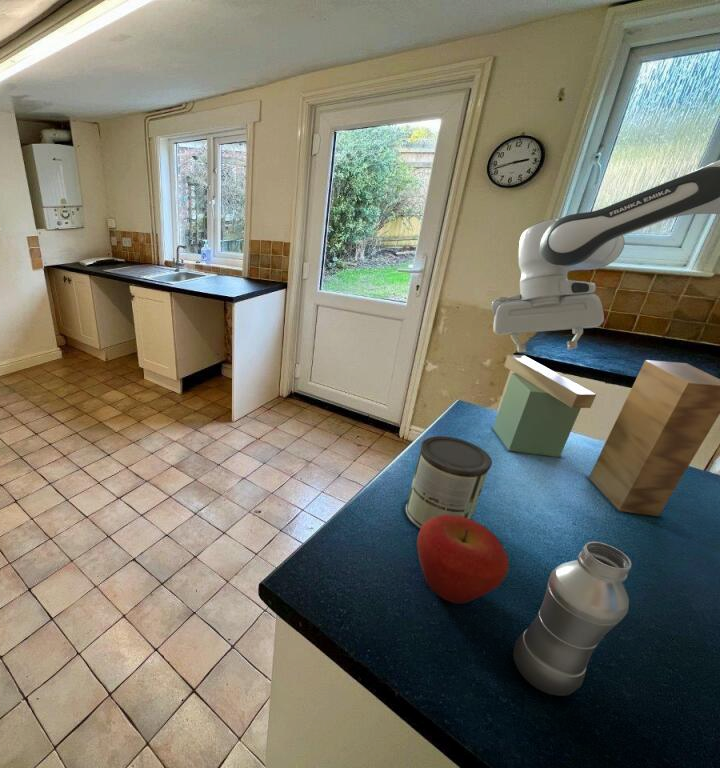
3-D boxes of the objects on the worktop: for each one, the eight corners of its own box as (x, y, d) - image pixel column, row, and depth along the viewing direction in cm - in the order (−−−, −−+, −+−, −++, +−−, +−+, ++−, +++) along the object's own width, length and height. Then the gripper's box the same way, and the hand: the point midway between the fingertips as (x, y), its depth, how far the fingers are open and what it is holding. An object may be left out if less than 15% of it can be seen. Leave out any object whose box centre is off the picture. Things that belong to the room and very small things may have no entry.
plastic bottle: (495, 657, 52) (550, 539, 44) (534, 641, 54) (595, 525, 46) (546, 712, 47) (621, 590, 38) (588, 693, 49) (669, 572, 40)
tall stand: (623, 482, 83) (686, 363, 72) (658, 516, 75) (736, 386, 64) (588, 477, 85) (645, 359, 74) (618, 511, 76) (688, 382, 65)
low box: (539, 433, 100) (561, 377, 94) (559, 457, 91) (586, 396, 85) (492, 428, 102) (511, 372, 96) (508, 450, 94) (530, 391, 87)
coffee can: (400, 494, 80) (415, 432, 74) (459, 503, 78) (479, 439, 72) (410, 533, 71) (428, 465, 65) (476, 544, 69) (502, 475, 63)
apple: (489, 641, 54) (519, 576, 49) (401, 602, 59) (419, 540, 54) (489, 579, 63) (514, 518, 58) (412, 550, 68) (428, 492, 63)
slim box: (519, 366, 99) (523, 354, 98) (590, 408, 80) (596, 394, 79) (504, 366, 99) (507, 354, 98) (571, 408, 80) (577, 394, 79)
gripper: (492, 296, 100) (495, 352, 100) (604, 282, 91) (608, 345, 90) (489, 300, 106) (491, 354, 106) (595, 288, 96) (598, 347, 96)
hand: (546, 350), depth 98 cm, fingers open, 8 cm apart
